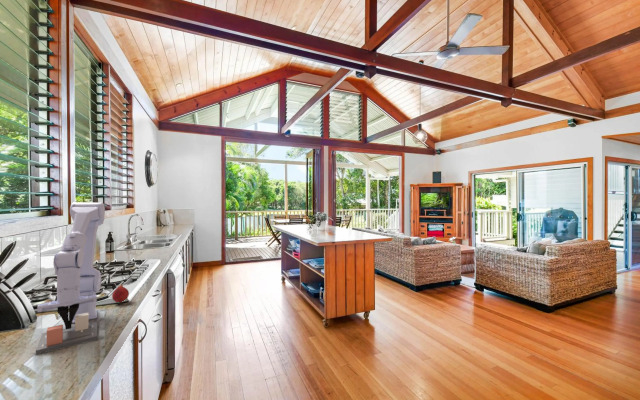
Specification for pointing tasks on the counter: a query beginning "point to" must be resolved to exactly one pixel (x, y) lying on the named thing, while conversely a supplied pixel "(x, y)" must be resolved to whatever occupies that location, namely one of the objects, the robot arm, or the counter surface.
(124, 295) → the onion
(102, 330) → the counter surface
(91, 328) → the grey base plate
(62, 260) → the robot arm
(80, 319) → the fader cream
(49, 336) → the block
